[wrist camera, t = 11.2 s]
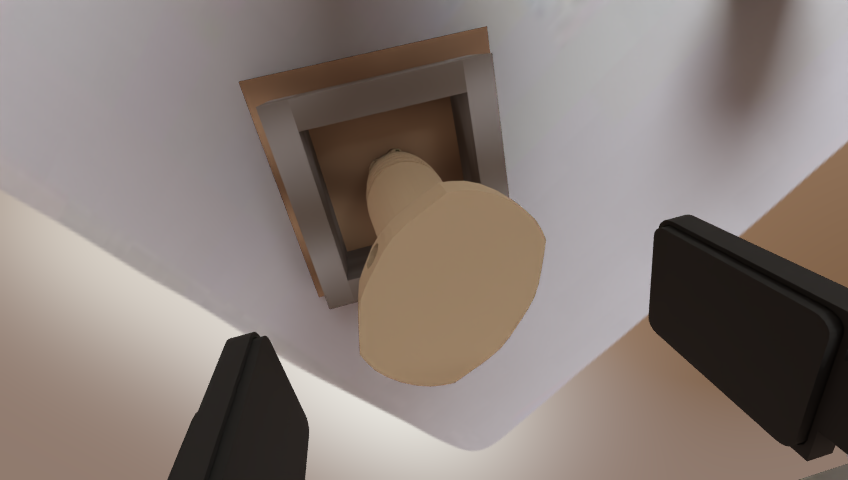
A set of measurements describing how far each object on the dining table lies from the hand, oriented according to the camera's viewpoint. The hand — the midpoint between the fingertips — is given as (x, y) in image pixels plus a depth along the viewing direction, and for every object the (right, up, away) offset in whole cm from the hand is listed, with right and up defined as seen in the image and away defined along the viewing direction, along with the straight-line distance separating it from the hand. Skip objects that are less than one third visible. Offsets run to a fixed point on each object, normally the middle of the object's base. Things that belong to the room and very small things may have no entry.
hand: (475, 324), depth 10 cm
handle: (-3, +6, +16) cm, 17 cm away
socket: (-3, +7, +17) cm, 18 cm away
